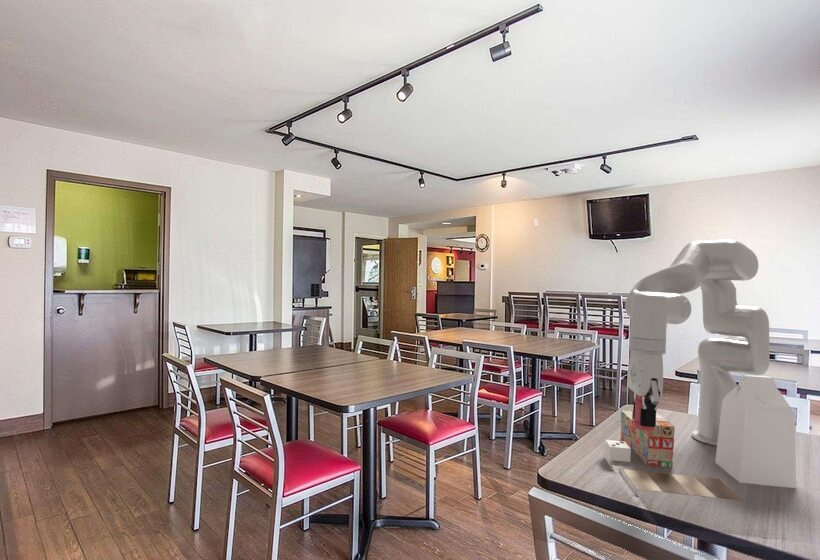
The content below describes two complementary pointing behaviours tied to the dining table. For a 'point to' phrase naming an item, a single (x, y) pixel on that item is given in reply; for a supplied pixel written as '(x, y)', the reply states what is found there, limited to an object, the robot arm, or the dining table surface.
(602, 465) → the dining table surface
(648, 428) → the pawn
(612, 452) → the die
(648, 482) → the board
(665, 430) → the stack of blocks
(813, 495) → the dining table surface
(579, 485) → the dining table surface
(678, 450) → the dining table surface
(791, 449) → the milk
